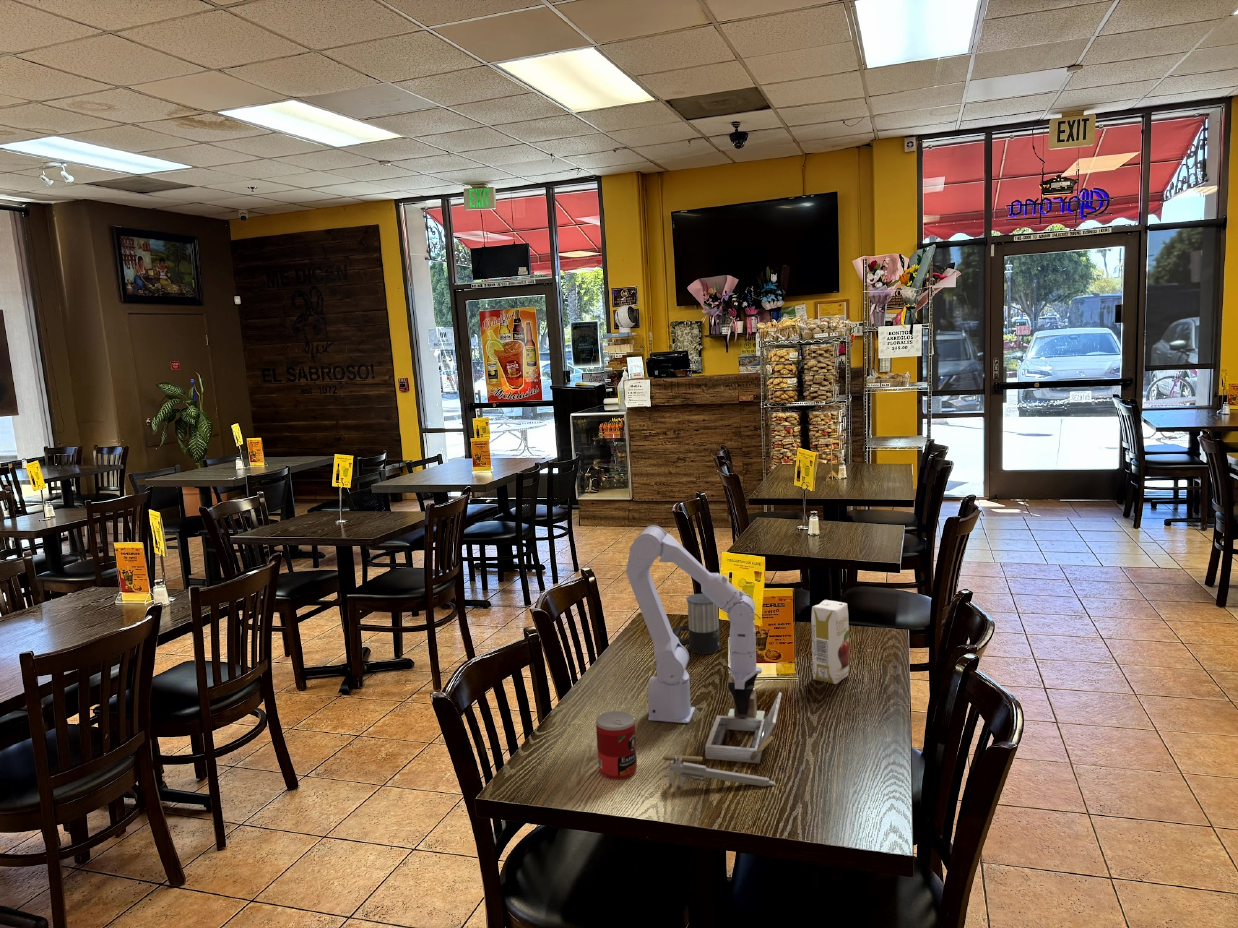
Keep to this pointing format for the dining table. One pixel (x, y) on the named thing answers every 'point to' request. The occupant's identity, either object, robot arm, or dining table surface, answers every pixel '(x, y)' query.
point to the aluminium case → (728, 752)
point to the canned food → (616, 744)
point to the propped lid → (768, 727)
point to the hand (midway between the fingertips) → (744, 707)
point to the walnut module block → (752, 707)
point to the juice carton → (830, 641)
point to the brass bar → (683, 757)
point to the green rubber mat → (759, 715)
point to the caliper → (712, 774)
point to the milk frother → (701, 625)
